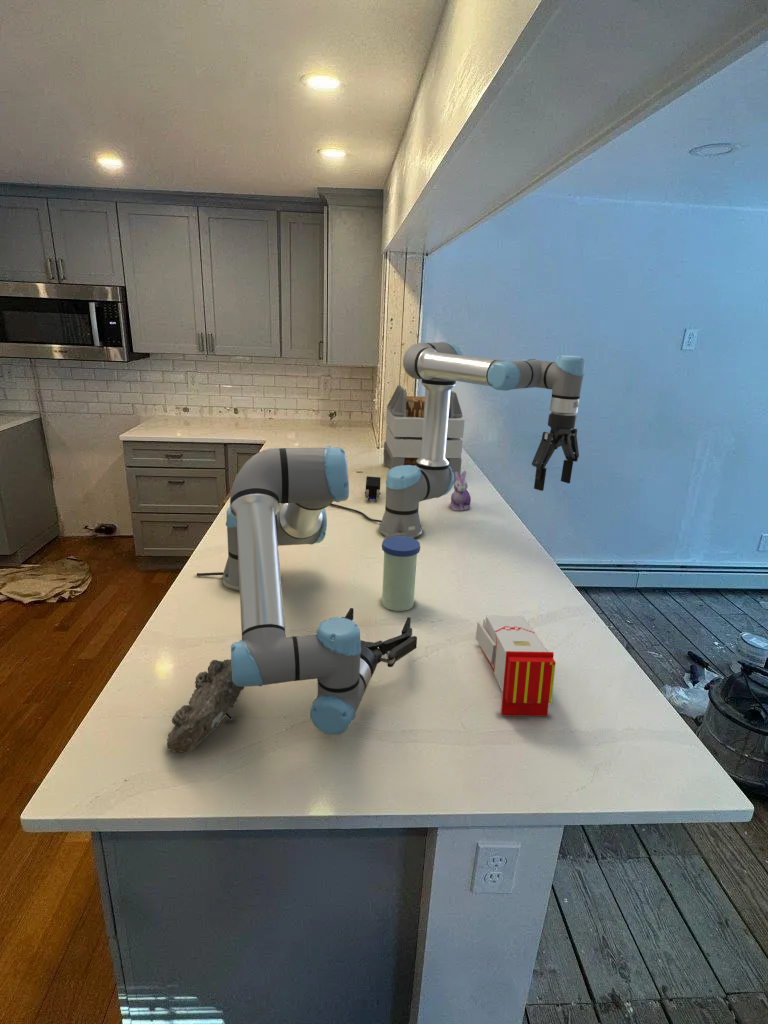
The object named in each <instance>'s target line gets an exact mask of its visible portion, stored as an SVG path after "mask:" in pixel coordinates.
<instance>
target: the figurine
mask: <svg viewBox="0 0 768 1024" xmlns="http://www.w3.org/2000/svg"><path fill="white" fill-rule="evenodd" d="M466 475H467V471H466V470H464V471H462V473H461V474H460V475H459V473H458V472H457V471H456V472H455V478H456V481H455V483H454V484H453V488H454V492H452V493H451V495H450V504H449V507H450V508H451V509H452V510H453V511H466V510H468V509H470V507H471V502H472V498H471V494H470V492H469V491H468V490H467V489H468V487H469V485H468V482H467V480H466Z"/></svg>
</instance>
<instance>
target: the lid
mask: <svg viewBox="0 0 768 1024" xmlns="http://www.w3.org/2000/svg"><path fill="white" fill-rule="evenodd" d="M381 550H382V551H383V553H384V552H385V553H387V554H389V555H392V556H398V557H408V556H413V555H416V554H417V555H418V554H419V553H420V551H421V543H420V542H419V540H417V539H416V538H415V539H413V538H410V537H404V536H394V537H389V538H387V537H385V538H384V539H383V540H382V542H381Z"/></svg>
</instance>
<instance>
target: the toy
mask: <svg viewBox="0 0 768 1024" xmlns="http://www.w3.org/2000/svg"><path fill="white" fill-rule="evenodd" d="M476 622H477V623H476V631H475V640H476V642H477V644H478V646H479V648H480V650H481V652H482V653H483V656H484V658H485V659H486V661H487V663H488V664H489V666H490V668H491V670H492V672H493V673H494V677H495V679H496V681H497V683H498V686H499V688H500V690H501V692H502V696H501V697H502V698H501V710H500V715H501V716H514V717H515V716H517V717H518V716H520V717H523V716H524V717H548V712H549V704H552V700H553V692H554V681H555V672H556V664H557V663H556V661H555V659H554V654H555V653H554V651H548V649H547V648H546V646H545V645H544V644H543V642H542V641H541V639H540V638H539V636H538V635H537V634H536V632H535V630H534V629H533V627H532V626H531V624H530V622H529V621H528V620H527V619H526V617H525V616H524V615H523V616H522V615H521V616H520V615H486V616H485V617H483V621H482V623H481V621H476Z"/></svg>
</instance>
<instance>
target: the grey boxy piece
mask: <svg viewBox="0 0 768 1024" xmlns="http://www.w3.org/2000/svg"><path fill="white" fill-rule="evenodd" d="M407 394H408V393H407V390H406V389H404V388H403V387H402V385H399V384H398V385H397V386H396V388H395V390H394V392H393V394H392V395H391V398H390V400H389V402H388V404H387V405H386V413H385V414H386V415H385V423H386V428H385V438H384V442H383V466H384V467H388V468H389V470H390V469H392V468H394V467H396V466H401V465H404V466H405V465H413V466H416V461H417V459H418V458H420V457H421V449H422V434H423V419H424V404H425V396H415V395H414V396H413V395H412V396H411V395H407ZM464 429H465V419H464V418H463V411H462V408H461V405H460V402H459V398H458V395H457V392H455V391H453V390H451V392H450V404H449V416H448V428H447V441H446V453H445V458H446V459H447V461H448V462H449V466H450V467H451V469H452V473H454V483H455V481H456V478H455V472H456V471H457V472H458V473H459V475H460V476H461V475H462V473H461V472H462V461H463V460H462V453H463V442H464V441H463V440H462V439H463V438H464V431H465V430H464Z"/></svg>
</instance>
